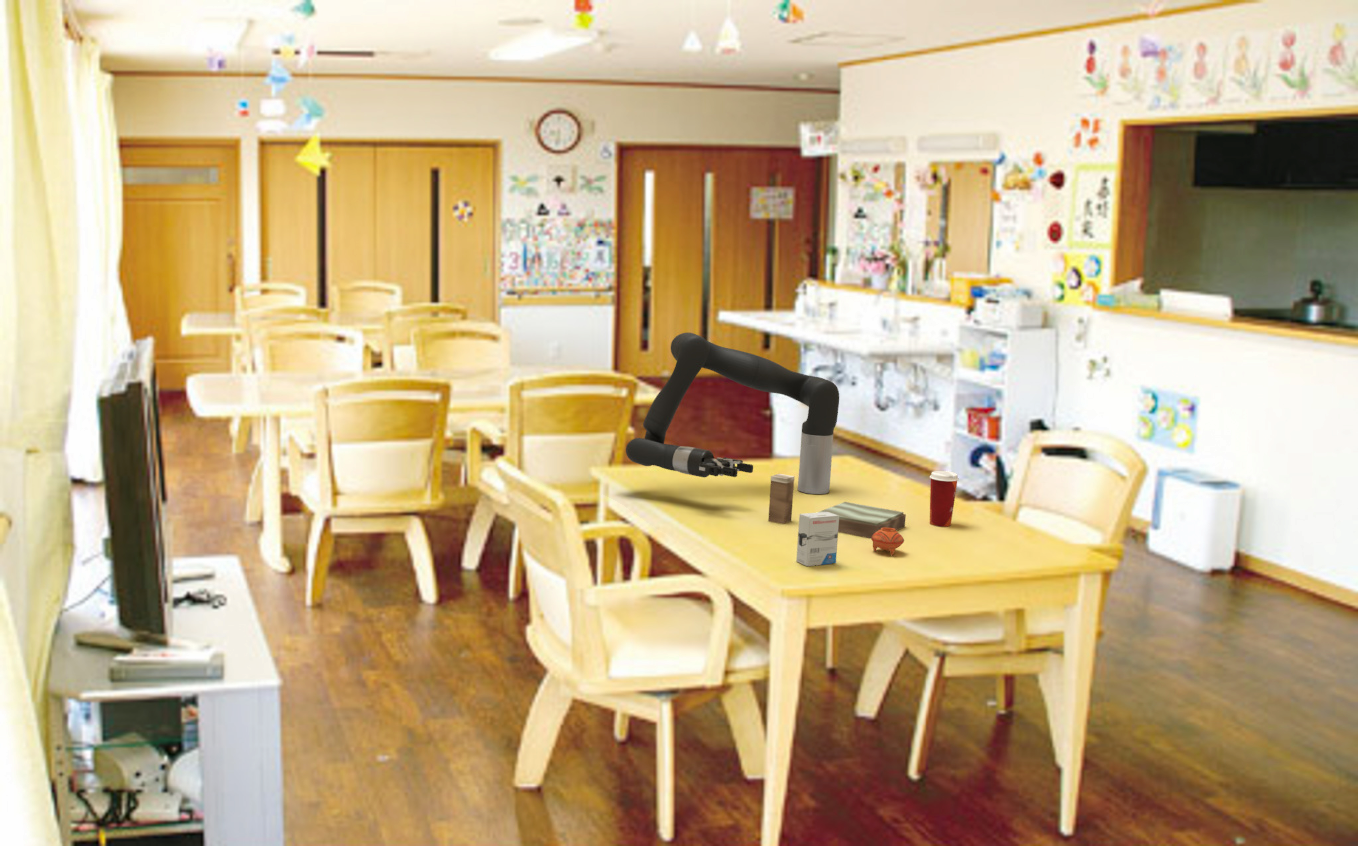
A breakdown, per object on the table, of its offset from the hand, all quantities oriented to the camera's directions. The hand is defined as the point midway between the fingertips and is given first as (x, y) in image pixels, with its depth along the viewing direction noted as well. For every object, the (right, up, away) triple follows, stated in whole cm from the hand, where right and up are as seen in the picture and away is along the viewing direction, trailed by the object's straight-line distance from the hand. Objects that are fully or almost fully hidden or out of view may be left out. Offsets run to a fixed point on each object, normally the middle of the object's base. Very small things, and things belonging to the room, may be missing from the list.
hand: (744, 471), depth 372 cm
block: (+9, -13, -4) cm, 16 cm away
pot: (+33, -19, -30) cm, 49 cm away
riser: (+30, -15, -6) cm, 34 cm away
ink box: (+15, -20, -43) cm, 50 cm away
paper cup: (+53, -15, +3) cm, 55 cm away
